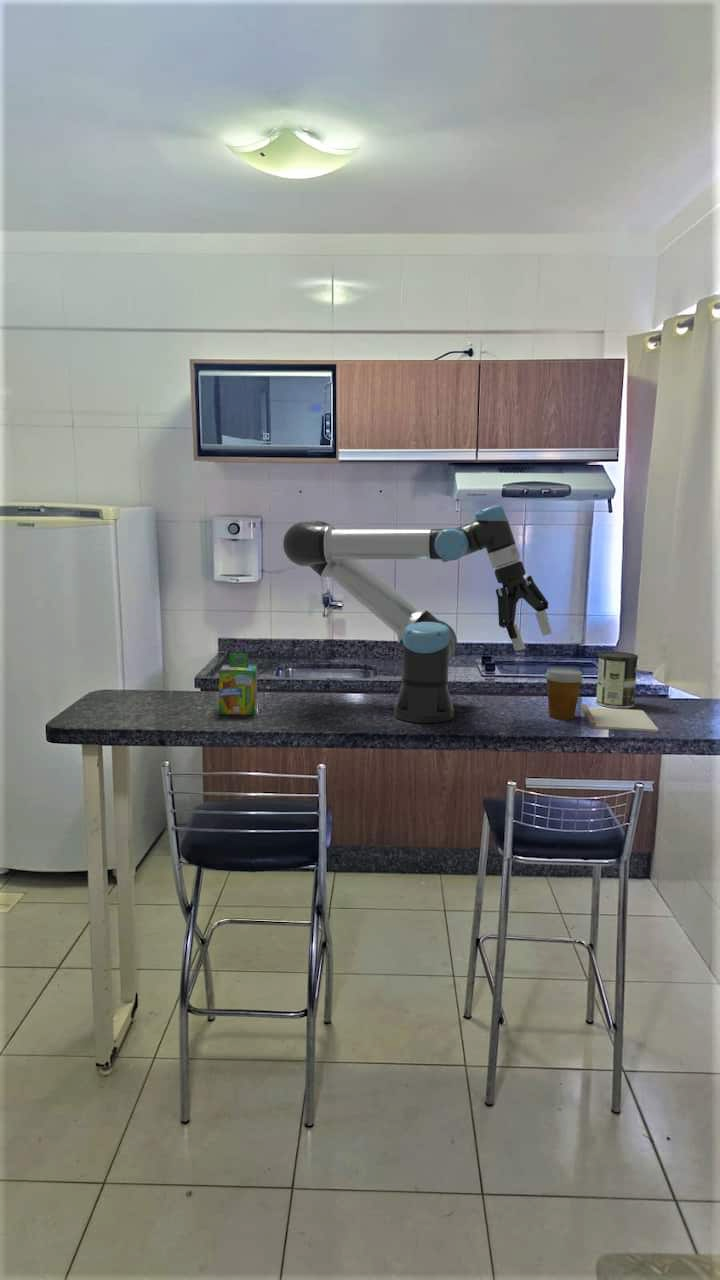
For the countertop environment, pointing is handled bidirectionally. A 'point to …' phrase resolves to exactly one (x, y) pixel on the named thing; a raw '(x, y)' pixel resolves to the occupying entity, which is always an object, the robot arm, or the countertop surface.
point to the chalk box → (238, 687)
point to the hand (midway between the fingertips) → (534, 642)
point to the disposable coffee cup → (563, 692)
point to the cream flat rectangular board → (618, 719)
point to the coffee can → (616, 679)
